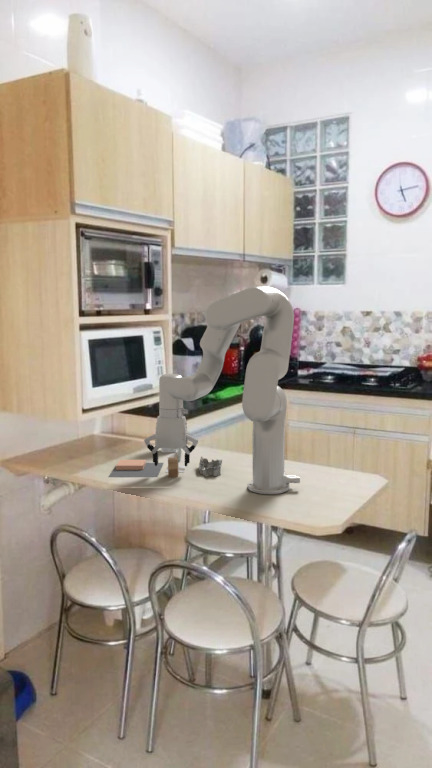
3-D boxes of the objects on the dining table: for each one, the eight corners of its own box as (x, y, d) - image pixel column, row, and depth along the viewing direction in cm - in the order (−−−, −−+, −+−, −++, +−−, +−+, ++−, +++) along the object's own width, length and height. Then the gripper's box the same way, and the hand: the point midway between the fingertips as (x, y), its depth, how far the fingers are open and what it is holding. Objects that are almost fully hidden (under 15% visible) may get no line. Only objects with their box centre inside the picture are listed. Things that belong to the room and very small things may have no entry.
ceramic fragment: (180, 464, 206) (179, 453, 205) (165, 464, 206) (165, 453, 205) (182, 454, 220) (182, 444, 219) (168, 454, 220) (168, 444, 219)
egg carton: (200, 467, 202) (200, 455, 201) (222, 467, 201) (222, 455, 201) (197, 477, 191) (197, 464, 191) (220, 477, 191) (220, 464, 190)
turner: (182, 478, 190) (181, 459, 189) (163, 478, 190) (163, 460, 189) (185, 467, 201) (185, 450, 200) (168, 467, 202) (167, 450, 201)
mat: (163, 463, 206) (163, 462, 206) (157, 478, 190) (157, 476, 190) (118, 463, 206) (117, 462, 206) (108, 478, 191) (108, 477, 190)
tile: (146, 459, 204) (120, 459, 205) (142, 465, 197) (116, 465, 198) (146, 464, 204) (120, 464, 205) (142, 470, 198) (116, 470, 198)
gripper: (199, 411, 192) (198, 462, 194) (145, 410, 192) (146, 460, 195) (197, 416, 184) (197, 469, 187) (142, 415, 185) (142, 467, 188)
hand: (171, 464), depth 191 cm, fingers open, 9 cm apart
